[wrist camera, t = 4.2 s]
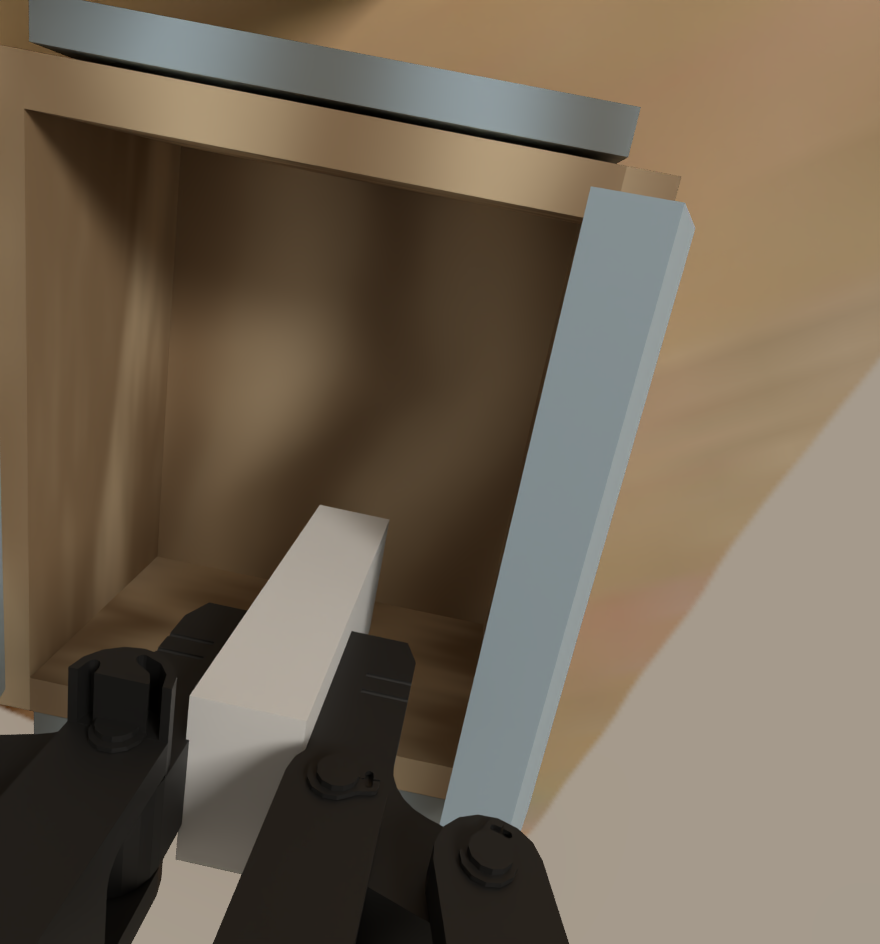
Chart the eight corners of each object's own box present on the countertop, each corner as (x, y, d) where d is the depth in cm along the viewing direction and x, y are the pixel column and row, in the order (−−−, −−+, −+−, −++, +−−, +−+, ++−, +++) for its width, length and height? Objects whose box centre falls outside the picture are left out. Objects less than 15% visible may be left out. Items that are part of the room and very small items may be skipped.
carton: (133, 594, 31) (-8, 733, 22) (158, 64, 24) (-31, -23, 16) (500, 671, 31) (497, 842, 22) (629, 155, 24) (698, 116, 15)
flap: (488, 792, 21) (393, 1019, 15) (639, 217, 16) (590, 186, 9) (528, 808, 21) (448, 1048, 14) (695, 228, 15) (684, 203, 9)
